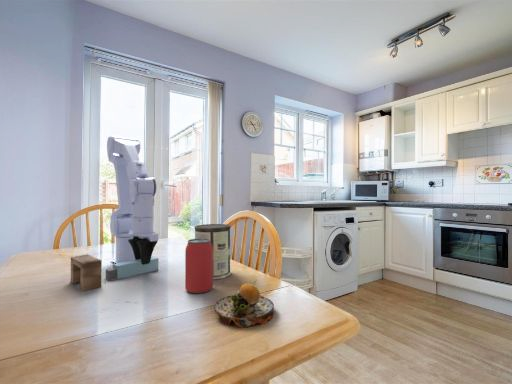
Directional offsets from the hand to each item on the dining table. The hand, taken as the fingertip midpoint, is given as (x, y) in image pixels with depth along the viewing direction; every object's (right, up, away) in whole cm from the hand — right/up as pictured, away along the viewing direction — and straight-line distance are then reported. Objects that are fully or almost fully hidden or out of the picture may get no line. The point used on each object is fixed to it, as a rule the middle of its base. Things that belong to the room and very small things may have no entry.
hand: (142, 262), depth 80 cm
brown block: (-10, -3, -11) cm, 15 cm away
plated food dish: (+32, -3, -27) cm, 42 cm away
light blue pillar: (-1, -3, -1) cm, 3 cm away
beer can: (+20, -3, -15) cm, 25 cm away
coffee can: (+21, -3, -3) cm, 22 cm away
